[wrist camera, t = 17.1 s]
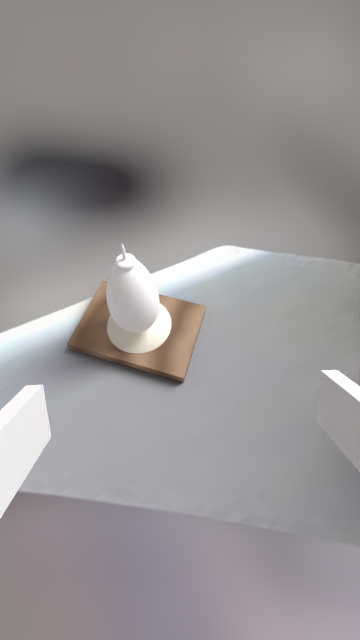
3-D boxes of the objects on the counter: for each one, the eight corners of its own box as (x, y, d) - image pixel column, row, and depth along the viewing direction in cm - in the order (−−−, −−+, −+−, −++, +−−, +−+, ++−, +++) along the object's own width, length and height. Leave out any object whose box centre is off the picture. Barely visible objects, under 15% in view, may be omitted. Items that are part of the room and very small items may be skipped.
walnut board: (205, 312, 54) (206, 305, 53) (183, 382, 47) (183, 377, 46) (105, 287, 57) (102, 279, 56) (71, 349, 50) (66, 343, 49)
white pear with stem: (119, 349, 48) (92, 273, 33) (112, 310, 52) (85, 228, 37) (166, 337, 49) (161, 260, 34) (155, 301, 53) (146, 217, 38)
